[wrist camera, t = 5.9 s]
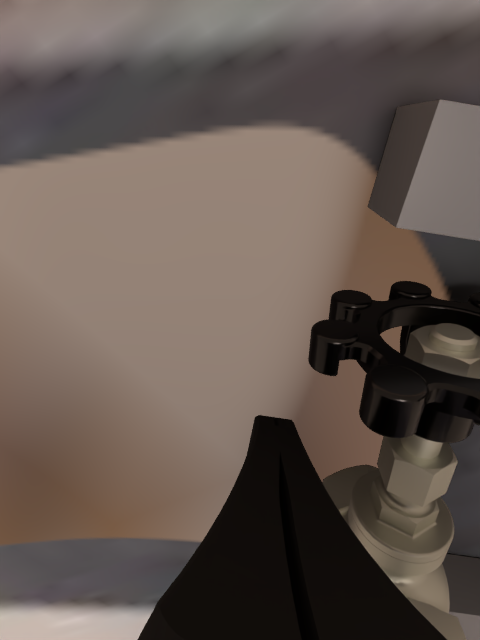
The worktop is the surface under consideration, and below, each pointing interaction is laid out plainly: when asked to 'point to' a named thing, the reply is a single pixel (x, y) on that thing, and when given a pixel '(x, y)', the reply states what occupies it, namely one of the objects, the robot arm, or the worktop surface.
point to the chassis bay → (439, 218)
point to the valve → (406, 429)
